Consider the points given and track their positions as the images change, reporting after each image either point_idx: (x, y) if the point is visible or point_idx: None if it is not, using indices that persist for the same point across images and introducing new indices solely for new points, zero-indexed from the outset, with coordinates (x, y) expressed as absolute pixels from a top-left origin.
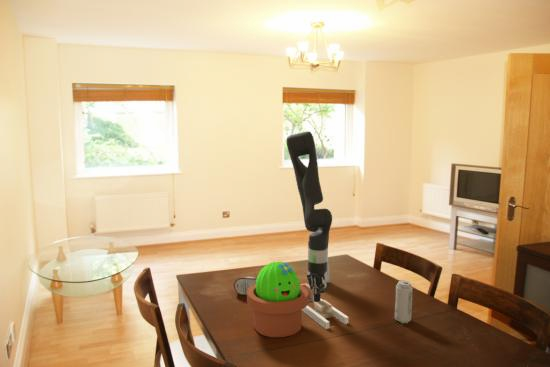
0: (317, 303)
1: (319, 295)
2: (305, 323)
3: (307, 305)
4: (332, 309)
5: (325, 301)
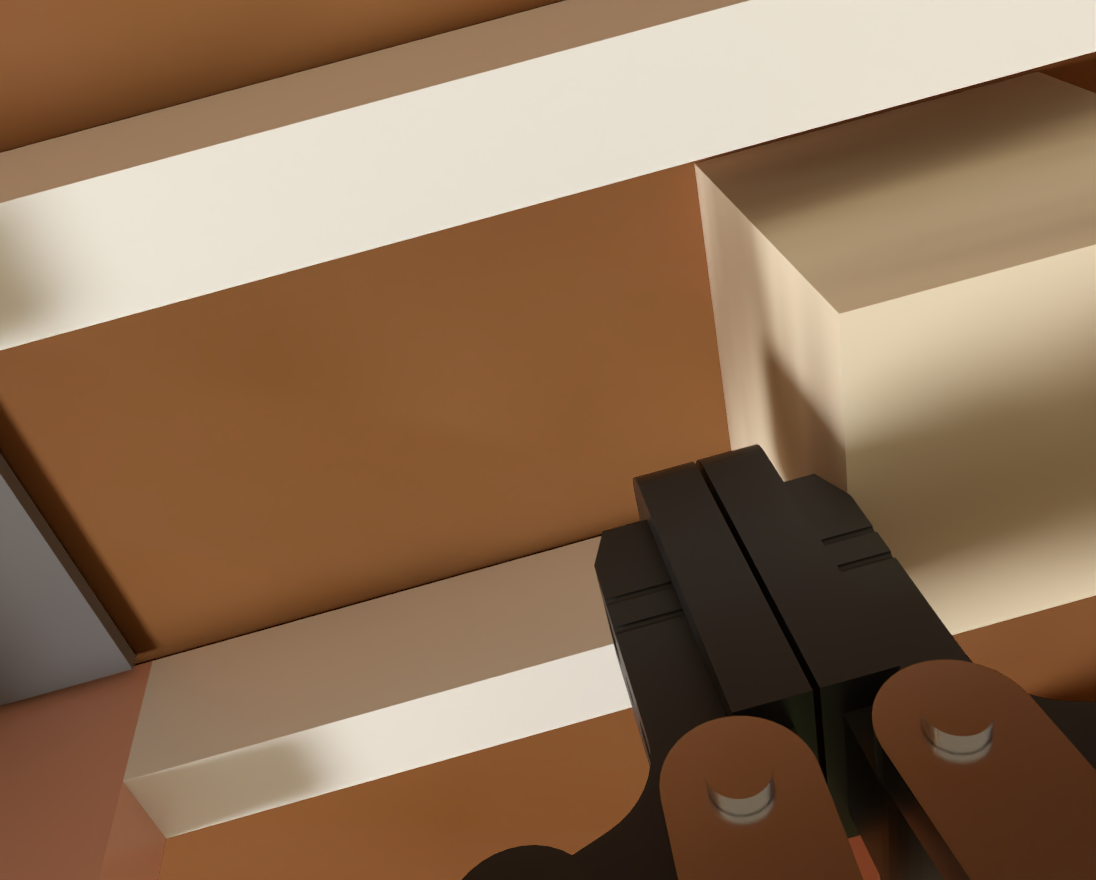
0: (977, 593)
1: (931, 653)
2: (1011, 643)
3: (591, 650)
4: (1086, 50)
5: (967, 326)
